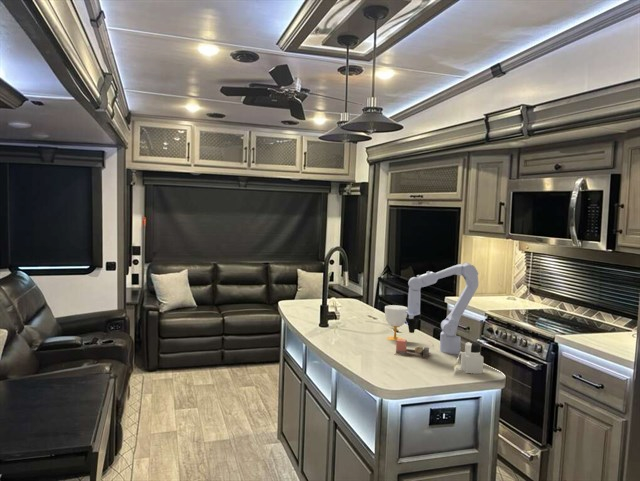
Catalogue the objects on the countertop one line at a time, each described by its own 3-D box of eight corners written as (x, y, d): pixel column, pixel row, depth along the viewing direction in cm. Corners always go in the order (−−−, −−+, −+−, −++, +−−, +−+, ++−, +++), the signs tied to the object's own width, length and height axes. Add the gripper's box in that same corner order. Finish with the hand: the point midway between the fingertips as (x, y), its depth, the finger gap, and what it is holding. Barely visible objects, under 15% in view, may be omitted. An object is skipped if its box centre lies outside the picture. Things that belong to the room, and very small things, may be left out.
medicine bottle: (476, 368, 202) (478, 340, 202) (483, 374, 195) (484, 345, 195) (460, 368, 202) (461, 340, 201) (466, 373, 195) (467, 345, 194)
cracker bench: (430, 355, 220) (431, 346, 220) (427, 361, 210) (427, 352, 209) (398, 351, 225) (399, 342, 225) (393, 357, 215) (394, 348, 215)
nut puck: (423, 353, 217) (423, 347, 217) (422, 356, 214) (422, 349, 214) (415, 352, 219) (415, 346, 218) (414, 355, 215) (414, 348, 215)
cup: (406, 343, 239) (407, 310, 239) (382, 341, 242) (384, 308, 241) (406, 337, 251) (407, 305, 250) (384, 335, 253) (385, 304, 252)
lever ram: (406, 351, 220) (406, 339, 220) (404, 353, 216) (405, 341, 216) (397, 350, 222) (398, 338, 222) (395, 352, 218) (396, 340, 217)
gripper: (408, 299, 232) (407, 326, 233) (402, 304, 219) (401, 333, 219) (422, 300, 230) (421, 328, 231) (418, 305, 216) (417, 335, 217)
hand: (413, 330), depth 225 cm, fingers open, 7 cm apart
